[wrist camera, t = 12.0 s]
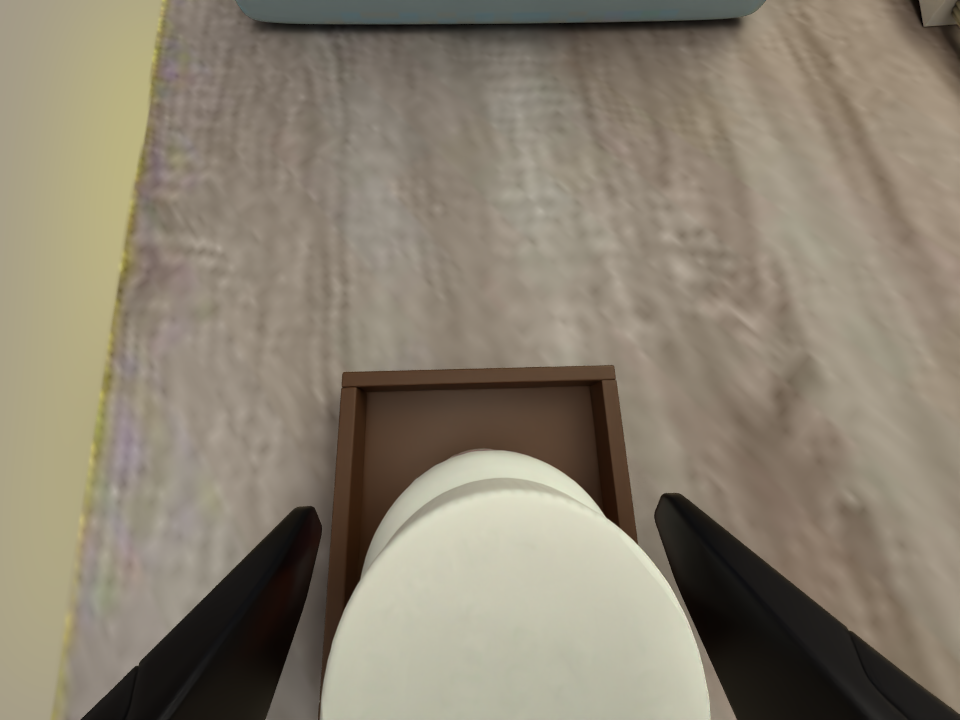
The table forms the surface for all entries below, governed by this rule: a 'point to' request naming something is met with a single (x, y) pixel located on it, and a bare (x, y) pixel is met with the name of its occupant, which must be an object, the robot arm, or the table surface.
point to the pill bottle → (509, 608)
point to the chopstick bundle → (940, 12)
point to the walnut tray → (465, 445)
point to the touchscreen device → (491, 11)
